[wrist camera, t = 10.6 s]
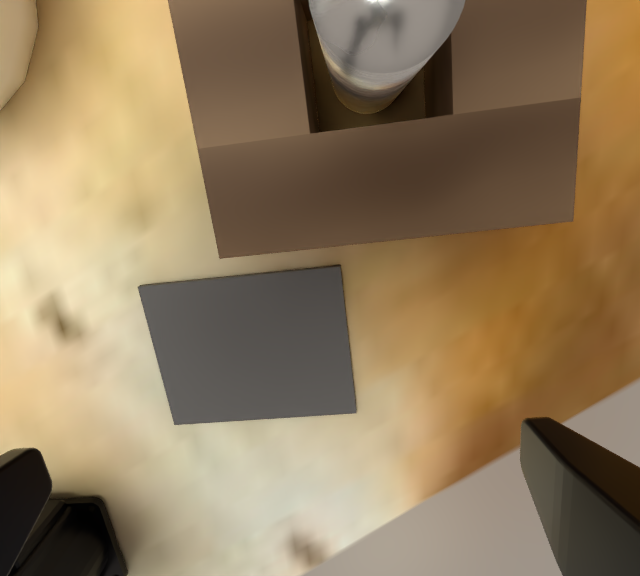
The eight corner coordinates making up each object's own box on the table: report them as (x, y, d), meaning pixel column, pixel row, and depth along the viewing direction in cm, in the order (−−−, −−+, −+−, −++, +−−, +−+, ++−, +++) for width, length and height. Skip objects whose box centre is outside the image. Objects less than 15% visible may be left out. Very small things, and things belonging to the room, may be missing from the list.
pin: (406, 108, 18) (470, 60, 8) (335, 118, 18) (318, 83, 8) (401, 27, 17) (468, -132, 7) (327, 39, 17) (297, -99, 8)
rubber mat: (356, 409, 22) (356, 413, 22) (176, 421, 23) (174, 424, 23) (340, 265, 20) (340, 266, 20) (140, 285, 21) (137, 287, 21)
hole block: (516, 203, 19) (573, 221, 14) (251, 232, 20) (219, 258, 15) (522, -138, 15) (603, -272, 10) (197, -76, 16) (134, -170, 11)
